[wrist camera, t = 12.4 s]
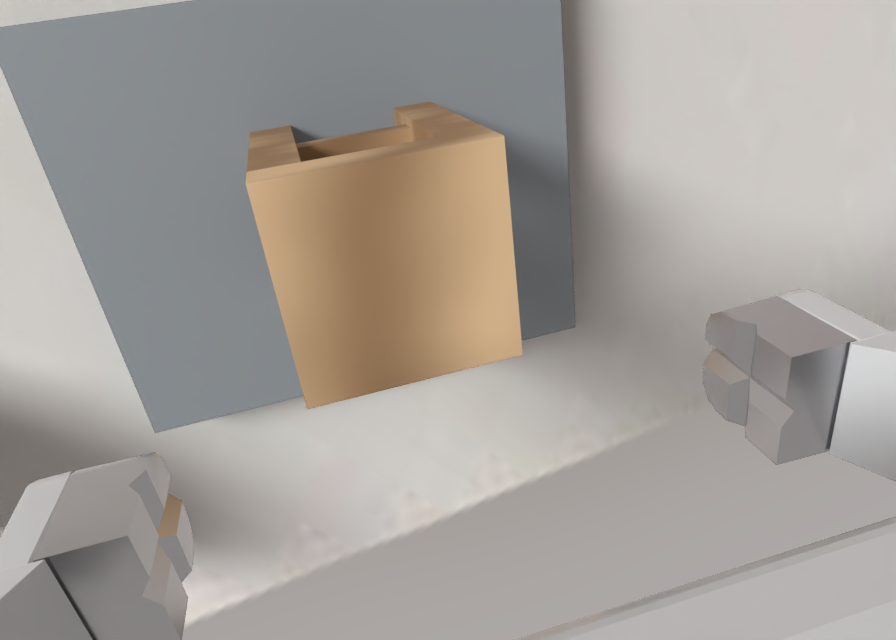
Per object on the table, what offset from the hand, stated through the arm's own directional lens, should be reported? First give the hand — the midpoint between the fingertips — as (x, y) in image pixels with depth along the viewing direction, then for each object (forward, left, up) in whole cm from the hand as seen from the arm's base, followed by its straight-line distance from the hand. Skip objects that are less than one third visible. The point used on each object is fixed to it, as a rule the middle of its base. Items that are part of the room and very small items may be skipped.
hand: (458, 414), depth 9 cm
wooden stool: (0, 0, -13) cm, 13 cm away
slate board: (0, 0, -15) cm, 15 cm away
